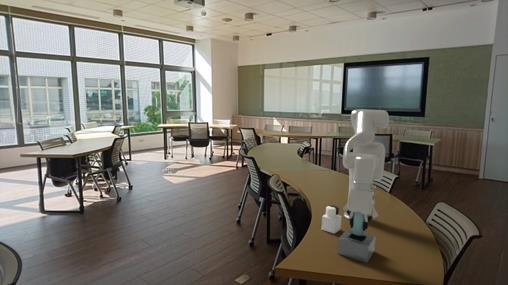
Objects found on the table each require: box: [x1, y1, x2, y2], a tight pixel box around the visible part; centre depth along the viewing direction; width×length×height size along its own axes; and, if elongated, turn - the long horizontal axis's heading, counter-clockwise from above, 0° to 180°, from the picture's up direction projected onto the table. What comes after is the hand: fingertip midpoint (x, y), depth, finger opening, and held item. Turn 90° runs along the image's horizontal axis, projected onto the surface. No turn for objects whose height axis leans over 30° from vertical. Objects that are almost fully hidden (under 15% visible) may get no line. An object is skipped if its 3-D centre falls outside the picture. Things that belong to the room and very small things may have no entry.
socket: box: [337, 228, 377, 264], centre depth 130 cm, size 12×12×7 cm
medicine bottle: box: [320, 204, 342, 234], centre depth 153 cm, size 7×7×12 cm
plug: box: [352, 211, 365, 236], centre depth 129 cm, size 4×4×10 cm
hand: (358, 227), depth 129 cm, fingers closed on plug, 4 cm apart
